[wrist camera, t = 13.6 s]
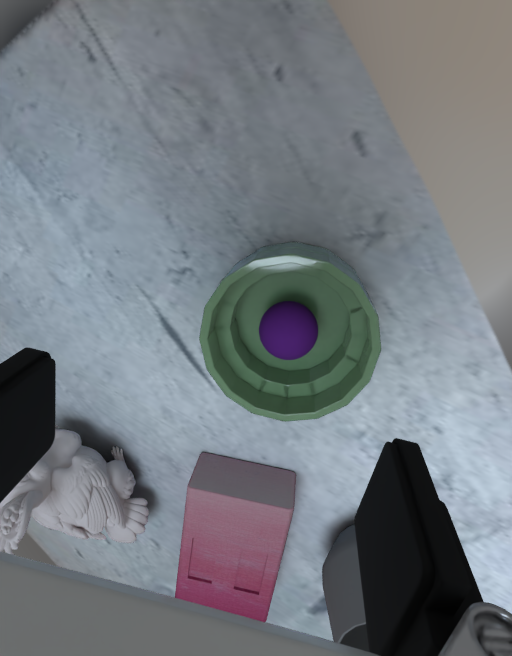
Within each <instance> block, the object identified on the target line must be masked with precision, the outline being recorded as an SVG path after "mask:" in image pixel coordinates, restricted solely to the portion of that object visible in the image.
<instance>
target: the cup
mask: <svg viewBox="0 0 512 656" xmlns="http://www.w3.org/2000/svg"><path fill="white" fill-rule="evenodd" d="M322 578H323V590H324V595H325V600H326V605H327V610H328V615H329V620H330V625H331V630H332V635H333V640H334V642H336V643H340V644H343V645H346V646H350V647H353V648H357V649H360V650H363V651H367V652H369V645H368V636H367V627H366V619H365V610H364V602H363V593H362V585H361V576H360V567H359V559H358V550H357V542H356V533H355V524H354V525H352V526H349V527H348V528H346V529H345V530H344V531H343V532H341V533H340V535H339V536H338V538H337V540H336V541H335V543H334V545H333V546H332V548H331V550H330V552H329V554H328V556H327V558H326V560H325V562H324V564H323V569H322Z"/></svg>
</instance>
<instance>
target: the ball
mask: <svg viewBox="0 0 512 656" xmlns="http://www.w3.org/2000/svg"><path fill="white" fill-rule="evenodd" d="M259 336H260V340H261V342H262V344H263V346H264V348H265V349H266V350H267V351H268V352H269V353H270V354H271V355H273V356H275V357H277V358H279V359H283V360H294V359H298V358H301V357H303V356H304V355H306V354H307V353H308V352H309V351H310V350H311V349H312V348H313V347H314V345H315V343H316V340H317V337H318V324H317V320H316V318H315V316H314V314H313V313H312V312H311V311H310V309H308V308H307V307H306V306H304V305H303V304H301V303H298V302H294V301H283V302H279V303H277V304H274V305H273V306H271V307H270V308H269V309H268V310H267V311H266V312H265V313H264V315H263V316H262V318H261V321H260V325H259Z"/></svg>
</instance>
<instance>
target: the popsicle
mask: <svg viewBox="0 0 512 656" xmlns="http://www.w3.org/2000/svg"><path fill="white" fill-rule="evenodd" d="M295 484H296V474H295V473H294V472H293V471H289V470H284V469H279V468H275V467H270V466H265V465H261V464H256V463H251V462H247V461H242V460H237V459H233V458H228V457H223V456H219V455H214V454H209V453H201V454H200V456H199V459H198V461H197V464H196V466H195V469H194V471H193V474H192V476H191V479H190V481H189V484H188V488H187V496H186V505H185V514H184V523H183V532H182V540H181V549H180V558H179V567H178V575H177V584H176V593H175V598H178V599H182V600H185V601H189V602H193V603H196V604H200V605H204V606H207V607H211V608H215V609H218V610H222V611H226V612H229V613H233V614H236V615H240V616H244V617H247V618H251V619H255V620H258V621H262V622H266V620H267V616H268V611H269V607H270V603H271V599H272V595H273V591H274V587H275V583H276V579H277V575H278V571H279V567H280V563H281V559H282V555H283V551H284V547H285V543H286V539H287V535H288V531H289V527H290V523H291V519H292V515H293V511H294V502H295Z"/></svg>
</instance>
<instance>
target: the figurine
mask: <svg viewBox="0 0 512 656" xmlns="http://www.w3.org/2000/svg"><path fill="white" fill-rule="evenodd" d="M56 427H58V425H55V439H54V442H53V444H52V446H51V448H50V449H49V450H48V451H47V452H46V453H45V455H44V456H43V457H42V458H41V459H40V460H39V461H38V462H37V463H36V464H35V466H34V467H33V468H32V469H31V470H30V471H29V472H28V473H27V474H26V475H25V476H24V478H23V479H22V480H21V481H20V482H19V483H18V484H17V485H16V486H15V487H14V489H13V490H12V491H11V492H10V493H9V494H8V495H7V496H6V497H5V498H4V500H3V501H2V502H1V503H0V551H1V552H3V550H4V548H5V552H6V553H8V554H12V555H15V554H13V552H12V549H18V543H19V541H20V540H21V539H22V537H23V536H24V534H25V532H26V530H27V527H28V524H29V520H30V517H31V516H32V517H33V518H34V519H35V520H36V521H37V522H38V523H40V524H41V525H43V526H44V527H47V528H49V529H53V530H59V531H61V532H63V533H66V534H68V535H70V536H74V537H77V538H81V539H88V538H94V539H97V540H103V539H106V537H105V536H104V535H103V534H102V533H101V532H100V531H102V530H103V527H105V530H106V532H107V533H108V535H109V537H110V538H111V539H112V540H114V541H116V542H121V543H134V542H135V541H136V534H142V533H144V532H145V527H144V525H146V524H147V522H148V518H147V516H148V515H149V510H148V509H147V507H146V506H147V504H148V502H147V501H146V500H145V499H144V498H130V495H131V494H132V492H133V487H134V486H135V484H136V483H135V479H134V476H133V473H132V472H131V471H130V470H128V468H127V466H126V464H125V460H124V456H123V450H122V449H120V451H119V447H117V446H116V448H115V447H113V450H112V449H111V453H112V455H113V456H114V458H115V460H114V461H110V462H108V463H107V462H106V461H105V459H104V458H103V457H102V456H101V455H100V453H98V452H97V451H96V450H94V449H92V448H90V447H86V446H81V439H80V436H79V434H77V433H75V432H74V431H69V430H65V429H56Z"/></svg>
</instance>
